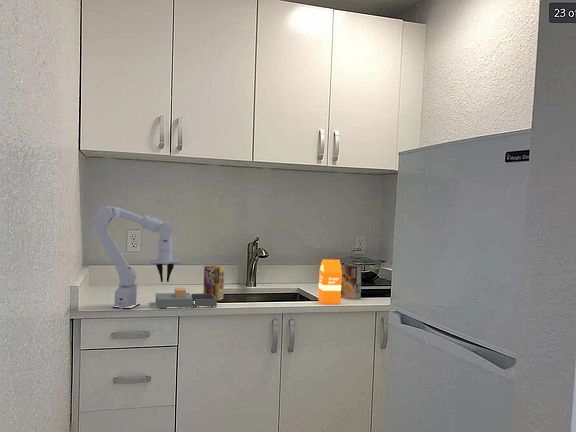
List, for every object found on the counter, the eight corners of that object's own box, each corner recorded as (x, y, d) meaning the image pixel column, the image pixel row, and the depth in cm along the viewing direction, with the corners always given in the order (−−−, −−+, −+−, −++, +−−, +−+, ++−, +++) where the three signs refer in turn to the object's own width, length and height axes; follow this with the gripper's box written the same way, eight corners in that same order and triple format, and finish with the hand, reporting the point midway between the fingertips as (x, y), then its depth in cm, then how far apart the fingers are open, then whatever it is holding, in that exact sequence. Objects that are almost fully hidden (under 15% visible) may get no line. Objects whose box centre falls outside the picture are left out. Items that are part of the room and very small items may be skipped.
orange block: (176, 297, 219) (176, 290, 219) (174, 294, 225) (175, 287, 224) (185, 297, 220) (185, 290, 220) (184, 294, 226) (184, 287, 226)
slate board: (157, 309, 213) (157, 299, 213) (155, 302, 226) (155, 293, 226) (192, 308, 218) (192, 298, 218) (188, 301, 230) (188, 292, 230)
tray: (192, 307, 218) (193, 299, 218) (189, 301, 230) (189, 293, 230) (216, 307, 221) (216, 299, 221) (211, 300, 233) (212, 293, 233)
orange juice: (318, 299, 244) (319, 258, 243) (335, 299, 246) (337, 258, 245) (322, 303, 237) (324, 260, 236) (340, 303, 238) (342, 260, 238)
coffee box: (361, 297, 254) (362, 265, 253) (356, 299, 248) (357, 266, 248) (344, 295, 259) (345, 263, 258) (339, 297, 253) (340, 264, 252)
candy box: (223, 299, 238) (224, 266, 237) (218, 300, 234) (219, 267, 233) (208, 296, 242) (209, 264, 241) (202, 298, 238) (203, 265, 238)
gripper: (148, 251, 213) (147, 283, 214) (183, 251, 218) (182, 282, 218) (147, 249, 220) (147, 280, 221) (181, 249, 224) (181, 279, 225)
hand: (164, 281), depth 220 cm, fingers closed
